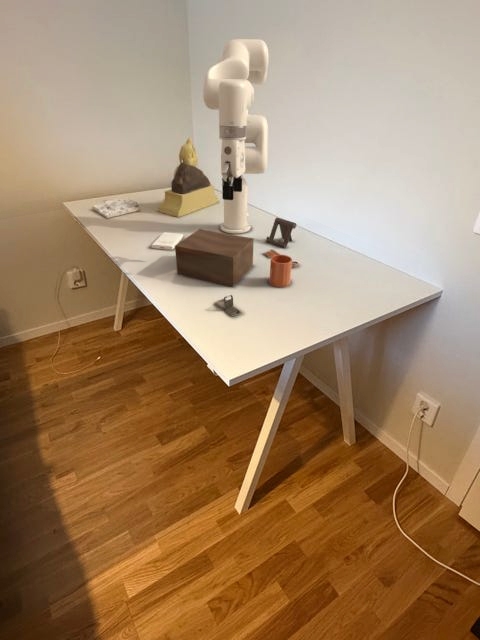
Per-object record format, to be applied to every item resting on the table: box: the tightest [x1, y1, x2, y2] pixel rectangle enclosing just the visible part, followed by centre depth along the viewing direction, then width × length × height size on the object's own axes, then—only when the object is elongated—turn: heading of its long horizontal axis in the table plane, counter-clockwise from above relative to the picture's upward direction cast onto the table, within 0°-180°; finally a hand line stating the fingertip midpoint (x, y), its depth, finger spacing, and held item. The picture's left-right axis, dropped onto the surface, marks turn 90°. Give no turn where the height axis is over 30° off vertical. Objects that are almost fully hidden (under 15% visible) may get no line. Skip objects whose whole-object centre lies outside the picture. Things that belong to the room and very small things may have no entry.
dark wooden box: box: [174, 228, 255, 288], centre depth 125 cm, size 16×20×10 cm
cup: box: [268, 254, 293, 288], centre depth 119 cm, size 6×6×8 cm
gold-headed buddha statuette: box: [157, 137, 219, 218], centre depth 175 cm, size 28×13×30 cm, turn 144°
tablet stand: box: [265, 217, 297, 249], centre depth 146 cm, size 9×8×8 cm
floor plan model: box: [92, 197, 140, 219], centre depth 181 cm, size 19×25×2 cm
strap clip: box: [215, 294, 241, 317], centre depth 107 cm, size 8×3×4 cm, turn 37°
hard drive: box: [151, 231, 184, 251], centre depth 146 cm, size 2×8×12 cm
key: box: [263, 249, 299, 268], centre depth 135 cm, size 6×1×15 cm
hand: (232, 195), depth 116 cm, fingers open, 9 cm apart
